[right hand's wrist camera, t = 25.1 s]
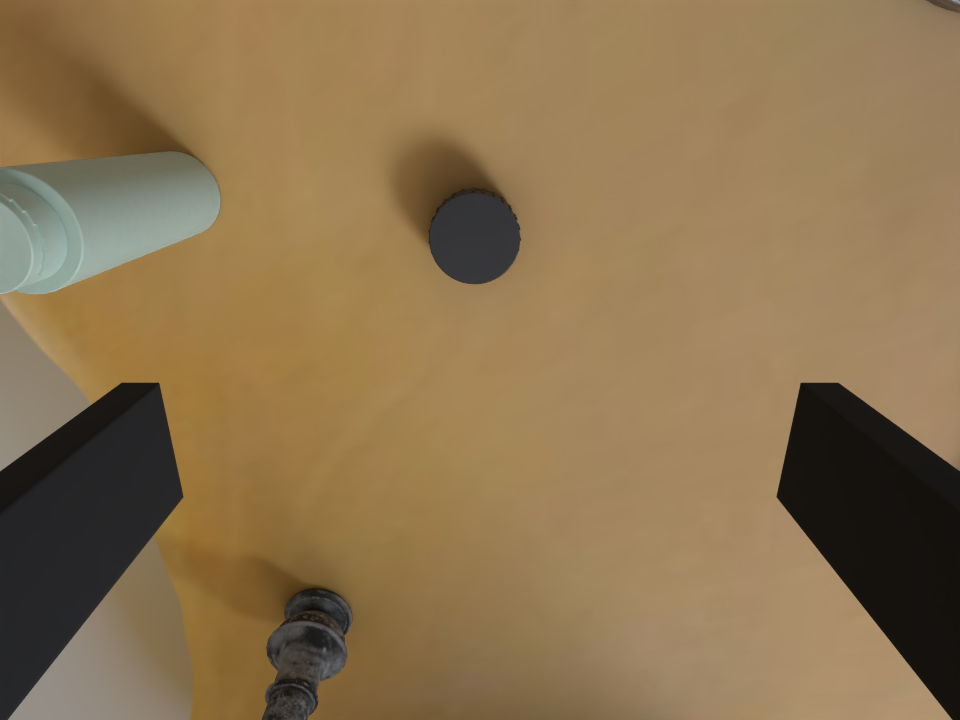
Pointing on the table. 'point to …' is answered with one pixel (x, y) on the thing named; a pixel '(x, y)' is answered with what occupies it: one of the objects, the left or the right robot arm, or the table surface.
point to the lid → (474, 236)
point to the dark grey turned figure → (306, 652)
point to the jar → (97, 215)
